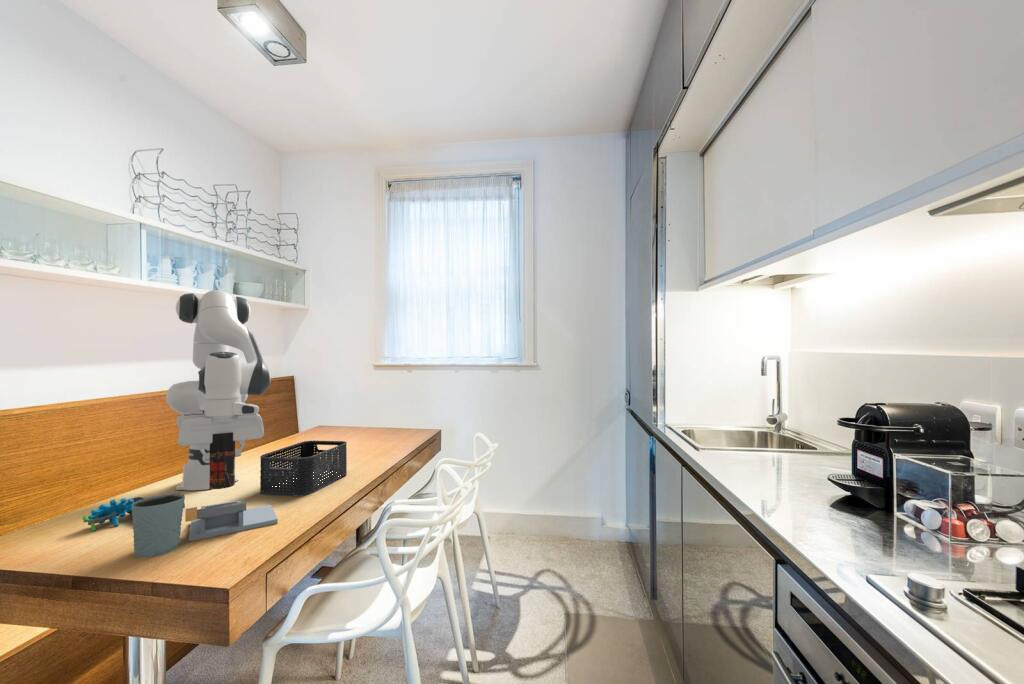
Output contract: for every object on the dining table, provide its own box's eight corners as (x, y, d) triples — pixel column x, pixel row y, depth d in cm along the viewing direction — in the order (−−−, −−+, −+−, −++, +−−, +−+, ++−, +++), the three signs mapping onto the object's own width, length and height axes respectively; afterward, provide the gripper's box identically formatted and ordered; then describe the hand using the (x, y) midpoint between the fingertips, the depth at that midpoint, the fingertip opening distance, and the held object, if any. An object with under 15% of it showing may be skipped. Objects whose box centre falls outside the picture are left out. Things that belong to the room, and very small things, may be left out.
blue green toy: (133, 509, 130) (135, 491, 125) (138, 526, 127) (140, 508, 122) (82, 526, 121) (81, 507, 116) (87, 544, 119) (86, 525, 114)
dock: (191, 523, 122) (191, 506, 123) (271, 508, 134) (271, 493, 134) (189, 541, 110) (189, 522, 110) (277, 523, 122) (277, 506, 122)
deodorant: (207, 486, 121) (207, 432, 122) (231, 482, 126) (232, 430, 126) (211, 490, 117) (212, 435, 118) (237, 485, 121) (237, 432, 122)
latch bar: (185, 518, 113) (185, 508, 113) (245, 508, 120) (245, 498, 121) (185, 521, 111) (185, 511, 111) (246, 510, 118) (246, 501, 118)
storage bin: (306, 497, 146) (306, 457, 146) (254, 495, 149) (255, 455, 149) (350, 474, 174) (350, 441, 175) (306, 473, 177) (306, 440, 177)
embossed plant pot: (122, 562, 99) (123, 509, 100) (139, 545, 108) (140, 496, 109) (176, 553, 103) (177, 502, 104) (188, 537, 112) (189, 491, 113)
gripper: (176, 413, 114) (175, 465, 113) (264, 407, 126) (264, 454, 125) (177, 411, 119) (176, 461, 118) (262, 405, 131) (262, 451, 130)
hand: (222, 458), depth 122 cm, fingers closed on deodorant, 6 cm apart
